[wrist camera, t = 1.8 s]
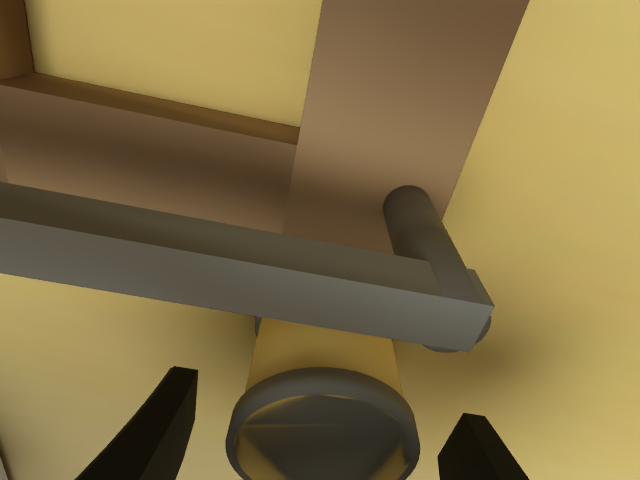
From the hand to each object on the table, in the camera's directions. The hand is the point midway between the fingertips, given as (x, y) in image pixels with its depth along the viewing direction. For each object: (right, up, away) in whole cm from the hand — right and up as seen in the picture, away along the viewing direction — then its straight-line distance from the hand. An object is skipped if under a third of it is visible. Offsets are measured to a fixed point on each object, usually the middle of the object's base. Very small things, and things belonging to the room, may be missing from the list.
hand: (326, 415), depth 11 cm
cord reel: (0, +2, +3) cm, 4 cm away
